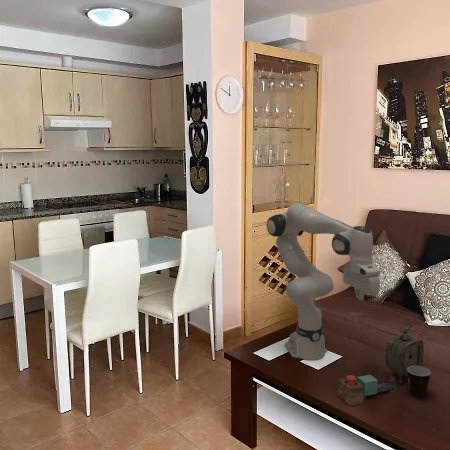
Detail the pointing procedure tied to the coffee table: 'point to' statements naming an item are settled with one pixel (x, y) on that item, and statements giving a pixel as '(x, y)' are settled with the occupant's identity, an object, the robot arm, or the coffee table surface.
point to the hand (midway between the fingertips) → (359, 299)
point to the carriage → (368, 384)
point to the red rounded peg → (351, 380)
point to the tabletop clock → (404, 353)
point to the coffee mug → (418, 381)
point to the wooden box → (351, 392)
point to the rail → (387, 386)
